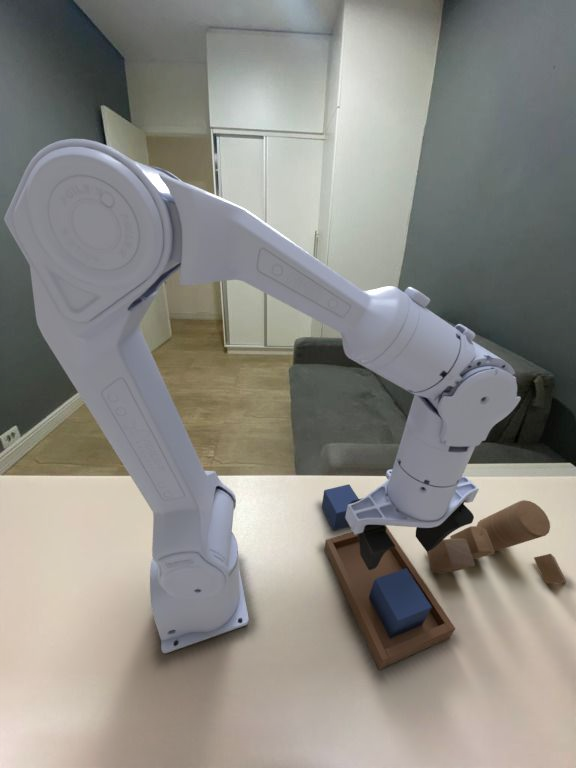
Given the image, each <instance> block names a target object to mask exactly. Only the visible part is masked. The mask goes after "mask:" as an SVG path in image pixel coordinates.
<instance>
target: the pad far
mask: <svg viewBox="0 0 576 768" xmlns="http://www.w3.org/2000/svg"><path fill="white" fill-rule="evenodd" d="M357 499H359V497H358V495H357V493H356V492H355V491H354V489H353V488H352V486H351V485H350V484H344V485H340V486H335V487H332V488H327V489H324V490H323V496H322V502H321V509H322V511H323V513H324V514H325V517H326V519H327V520H328V523H329V524H330V527H331V529H332V530H333V531H337V530H341V529H344V528H347V527H350V526H349V524H348V522H347V520H346V518H345V516H346V511H347V507H348V505H349V504H350V503H351V502H352V501H354V500H357Z"/></svg>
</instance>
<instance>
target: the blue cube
mask: <svg viewBox="0 0 576 768" xmlns="http://www.w3.org/2000/svg"><path fill="white" fill-rule="evenodd" d="M369 598H370V600H371V602H372V604H373V606H374V608H375V610H376V612H377V614H378V616H379V618H380V620H381V622H382V624H383V626H384V627H385V629H386V631H387V633H388V635H389V637H390V638H392V637H395V636H397V635H399V634H402V633H404V632H407V631H409V630H411V629H414V628H416V627H418V626H421V625H423V623H424V621H425V619H426V617H427V615H428V613H429V611H430V609H431V608H432V607H431V605H430V604H429V602H428V600H427V599H426V597H425V596H424V594H423V593H422V591H421V590H420V588H419V587H418V585H417V584H416V582H415V581H414V579H413V578H412V576H411V574H410V573H409V571H408V570H407V568H405V569H402V570H399V571H397V572H394V573H391V574H388V575H385V576H382V577H379V578H377V579H375V580H374V583H373V586H372V589H371V592H370V595H369Z"/></svg>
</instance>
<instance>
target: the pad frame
mask: <svg viewBox="0 0 576 768" xmlns="http://www.w3.org/2000/svg"><path fill="white" fill-rule="evenodd" d="M385 526H386V532H387V534H388V535H389V537H390V538H391V540H392V542H393V543H394V545H395V546H396V547H393V548H390V549H389V550H387V551H386V552H385V553H384V555H383V556H382V558H381V560H380V562H379V564H378V566H377V567H376V568H375V569H372V570H368V568H367V566H366V564H365V562H364V561H363V559H362V557H361V555H360V543H359V537H358V534H356V535H355V534H354V533H353V531H350V532H348V533H344V534H341V535H337V536H335V537H334V536H333V537H330V538H326V539H325V543H324V547H323V548H324V551H325V554H326V555H327V558H328V560H329V563H330V565H331V567H332V569H333V571H334V574H335V575H336V578H337V580H338V582H339V584H340V587H341V589H342V591H343V593H344V596H345V598H346V600H347V602H348V604H349V606H350V609H351V611H352V614H353V616H354V618H355V620H356V622H357V624H358V626H359V629H360V631H361V633H362V635H363V637H364V640H365V642H366V644H367V647H368V649H369V651H370V653H371V655H372V657H373V659H374V662H375V664H376V666H377V669H378V670H381V669H383V668H385V667H388V666H390V665H392V664H394V663H397V662H398V661H399V662H400V661H401V660H403V659H405V658H408V657H410V656H412V655H414V654H417V653H419V652H422V651H424V650H425V649H427V648H429V647H432V646H434V645H436V644H438V643H441V642H443V641H445V640H447V639H450V638H451V636H453V633H454V632H455V630H456V626H455V625H454V624H453V623H452V621H451V619H450V618H449V616H448V615H447V613H446V612H445V611H444V609H443V608H442V606H441V605H440V603H439V602H438V600H437V599H436V598H435V596H434V595H433V593H432V591H431V590H430V589H429V587H428V586H427V584H426V583H425V581H424V579H423V578H422V576H421V575H420V574H419V573H418V571H417V569H416V568H415V566H414V565H413V564H412V562H411V561H410V559H409V557H408V555H406V553H405V552H404V550H403V548H402V547H401V546H400V544H399V543H398V541H397V540H396V538H395V537H394V535H393V534H392V532H391V531H390V529H389V528H388V526H387V525H385ZM405 568H407V570H408V571H409V573H410V574H411V576H412V578H413V579H414V581H415V582H416V584H417V585H418V587H419V588H420V590H421V591H422V593H423V594H424V596H425V597H426V599H427V600H428V602H429V604H430V605H431V607H432V608H431V609H430V611H429V613H428V615H427V617H426V619H425V621H424V623H423V625H421V626H418V627H416V628H414V629H411V630H409V631H407V632H404V633H402V634H399V635H397V636H395V637H392V638H390V637H389V635H388V633H387V631H386V629H385V627H384V626H383V624H382V622H381V620H380V618H379V616H378V614H377V612H376V610H375V608H374V606H373V604H372V602H371V600H370V598H369V595H370V592H371V589H372V586H373V583H374V580H375V579H377V578H379V577H382V576H385V575H388V574H391V573H394V572H397V571H399V570H402V569H405Z"/></svg>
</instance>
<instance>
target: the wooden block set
mask: <svg viewBox="0 0 576 768" xmlns="http://www.w3.org/2000/svg"><path fill="white" fill-rule="evenodd" d="M550 530H551V521H550V520H549V517H548V515H547V514H546V512H545V510H543V509H542V507H541V506H539V505H538V504H536V503H535V502H532V501H531V500H527V499H526V500H524V499H523V500H519V501H517V502H515V503H513V504H511V505H509V506H507V507H504V508H502V509H499V511H497V512H494V513H493V514H490V515H488V516H486V517H484V518H482V519H480V520H479V521H478V522H477V524H476V525H475V526H474V525H473V526H471V525H470V526H468V527H467V528H464V529H462V530H460V531H458V532H456V533H454V534H451V535H450V536H449V538H444V539H443V540H442V541H441V542H440V543H439V544H438V545H437V546H436V547H435V548H434V549H432V550H430V551H426V554H427V558H428V561H429V565H430V568H431V571H432V573H434V574H436V573H437V574H438V573H453V572H454V573H455V572H458V571H462V570H465V569H468V568H473V567H475V565H476V563H475V560H476V559H480V558H484V557H487V556H490V555H493V554H495V551H501V550H503V549H508V548H510V547H513V546H517V545H521V544H523V543H526V542H530V541H533V540H536V539H539V538H542V537H545V536H547V535H548V534H549V533H550ZM474 559H475V560H474ZM533 559H534V562H535V564H536V566H537V568H538V570H539V573H540V574H541V577H542V579H543V581H544V584H564V583H567V580H566V578H565V576H564V573H563V571H562V569H561V567H560V566H559V563H558V561H557V559H556V557H555V556H554V555H553V554H552V553H547V554H543V555H538V556H534V557H533Z"/></svg>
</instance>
